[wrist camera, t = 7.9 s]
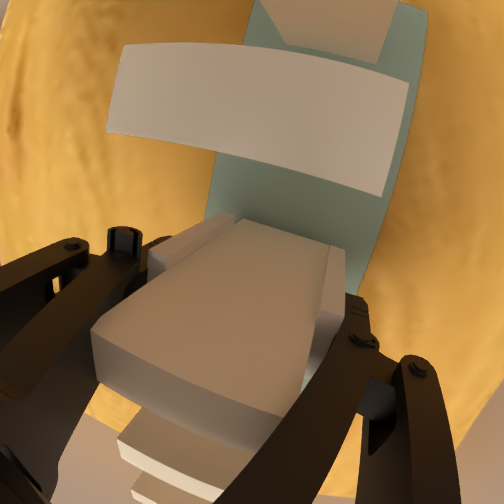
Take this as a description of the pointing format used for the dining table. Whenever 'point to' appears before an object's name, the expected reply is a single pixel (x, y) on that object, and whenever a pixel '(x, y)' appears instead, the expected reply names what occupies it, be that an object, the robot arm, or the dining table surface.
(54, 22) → the dining table surface
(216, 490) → the domino
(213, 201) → the strip
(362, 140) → the domino
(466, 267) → the dining table surface
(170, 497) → the domino
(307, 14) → the domino
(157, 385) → the domino
